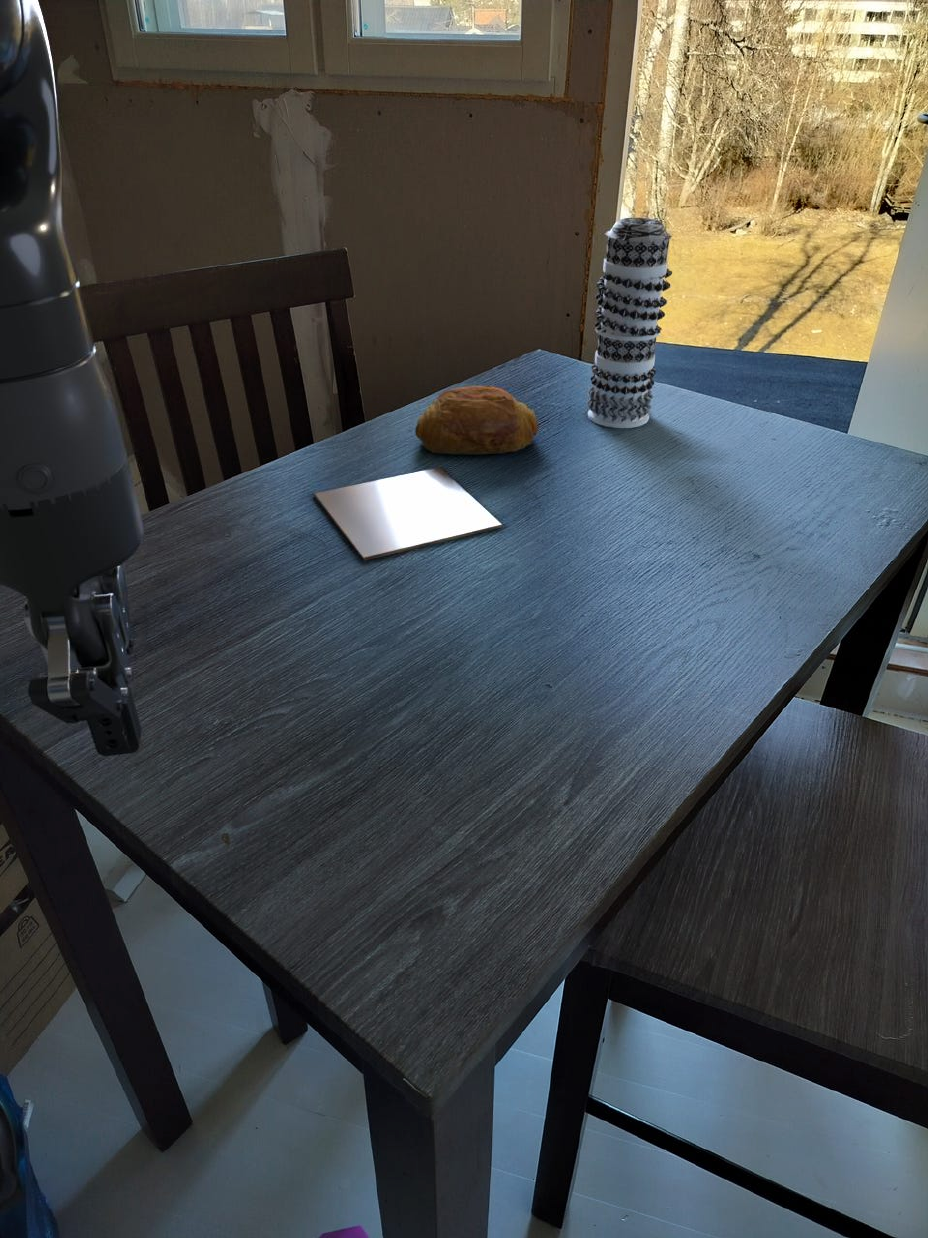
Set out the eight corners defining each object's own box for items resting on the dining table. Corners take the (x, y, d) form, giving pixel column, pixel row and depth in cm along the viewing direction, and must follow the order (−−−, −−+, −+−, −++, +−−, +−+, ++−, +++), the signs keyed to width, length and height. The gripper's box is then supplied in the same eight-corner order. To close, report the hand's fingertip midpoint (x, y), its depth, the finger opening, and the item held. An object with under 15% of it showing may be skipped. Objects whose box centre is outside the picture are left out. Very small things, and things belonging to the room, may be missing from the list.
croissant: (534, 478, 107) (547, 418, 102) (411, 461, 106) (418, 400, 101) (528, 429, 119) (539, 374, 114) (417, 414, 117) (423, 357, 112)
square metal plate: (363, 561, 86) (363, 557, 86) (314, 496, 98) (314, 493, 98) (502, 527, 92) (502, 524, 92) (439, 470, 104) (439, 466, 104)
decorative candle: (662, 426, 115) (691, 226, 101) (598, 431, 114) (618, 229, 99) (637, 402, 123) (661, 212, 108) (576, 406, 121) (592, 215, 107)
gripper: (-20, 406, 42) (70, 679, 52) (-111, 540, 31) (23, 849, 41) (140, 397, 43) (197, 665, 53) (103, 522, 33) (183, 827, 43)
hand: (121, 745), depth 47 cm, fingers closed
